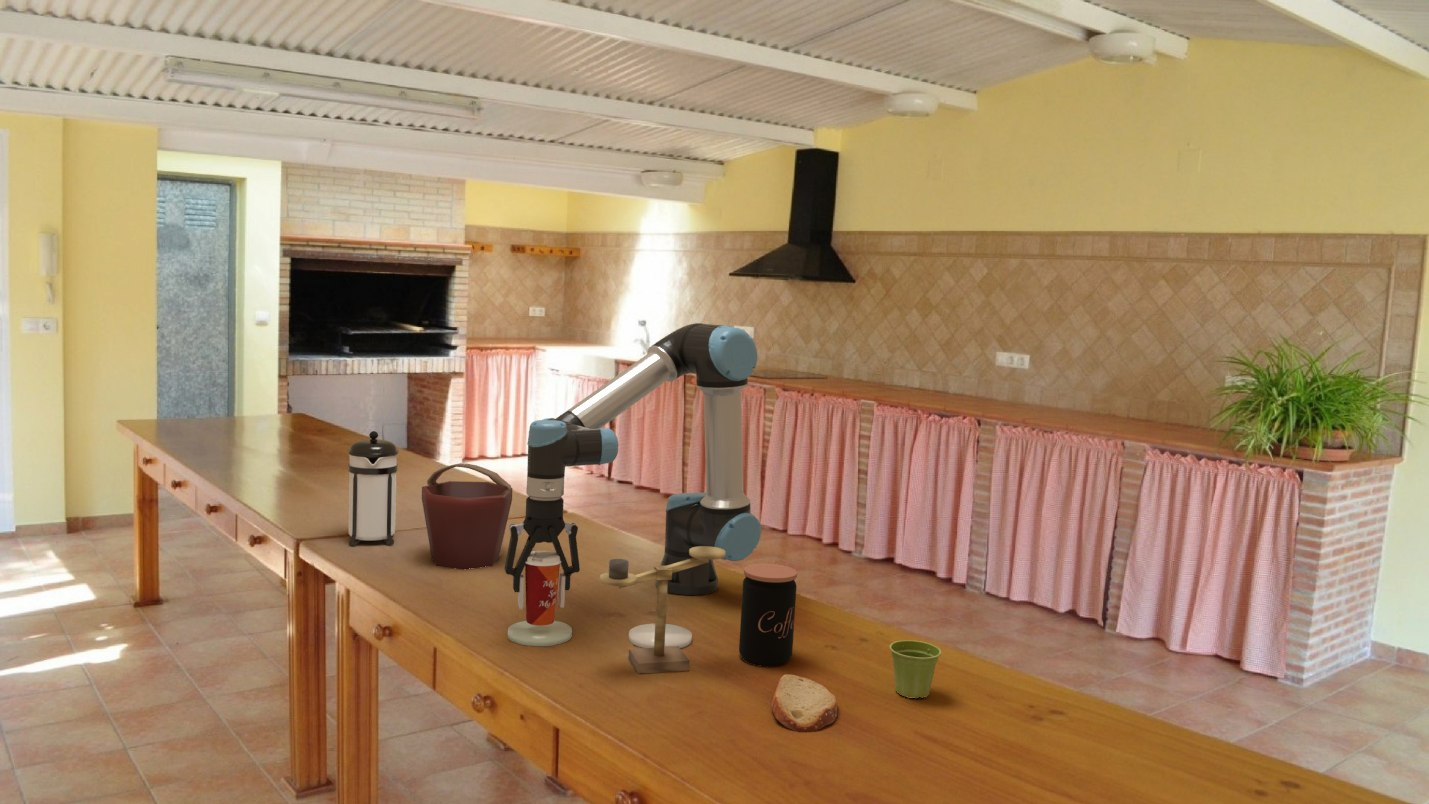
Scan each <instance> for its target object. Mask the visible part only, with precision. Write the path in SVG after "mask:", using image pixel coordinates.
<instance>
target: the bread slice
mask: <svg viewBox="0 0 1429 804" xmlns="http://www.w3.org/2000/svg"><path fill="white" fill-rule="evenodd" d="M836 697H837V696H835V694H833V693H831V692H830V691H829V690H828V688H827V687H826V686H824V685H823V684H821V683H818V682H817V681H815V680H813V679H810V678H807V677H803V676H800V675H796V674H783V675H781V677H780V678H779V679H778V681H777V685H776V687H775V690H774V693H773V697H772V699H771V705H770V708H771V711H772V712H773V713H772V714H773V717H774V718H775V719H776V721H778V722H779V723H780V724H781V725H782V726H783V727H785V728H786V729H788V730H791V731H793V732H795V731H796V732H795V733H816V732H819V731H821V729H823V728H824V727H827V725H828V726H829V725H831V724H833V723H834V722H835V721H836V720H837V718H838V717H837V716H838V700H837V698H836Z"/></svg>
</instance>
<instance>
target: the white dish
mask: <svg viewBox="0 0 1429 804" xmlns="http://www.w3.org/2000/svg"><path fill="white" fill-rule="evenodd" d="M692 638H693V634H692V632H691V631H690V630H689V629H687V628H685V627H683V626H680V625H675V624H672V623H671V624H669V623H666V627H665V646H664V647H672V646H679V648H680V649H683V648H686V647H687V646H689V645H690V644H692ZM654 639H655V623H645V624H640V625H636V626H634V627H632V628H631V629H630V630H629V631H628V641H629V642H630V643H631V644H632V645H634V646H636V647H638V648H654Z"/></svg>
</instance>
